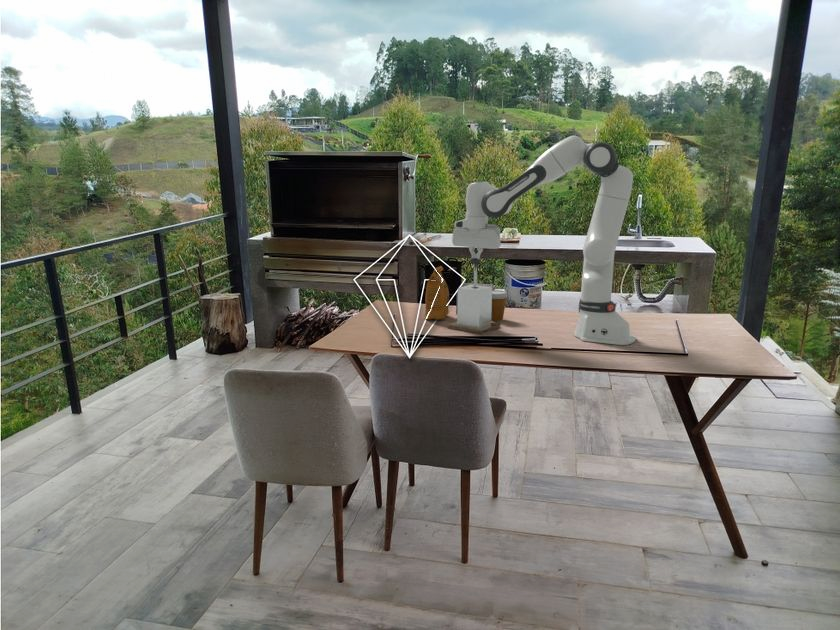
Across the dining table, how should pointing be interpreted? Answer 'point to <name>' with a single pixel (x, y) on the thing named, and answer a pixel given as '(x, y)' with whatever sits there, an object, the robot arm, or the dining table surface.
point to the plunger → (475, 269)
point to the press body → (474, 310)
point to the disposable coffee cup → (498, 305)
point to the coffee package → (442, 297)
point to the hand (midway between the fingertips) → (475, 258)
